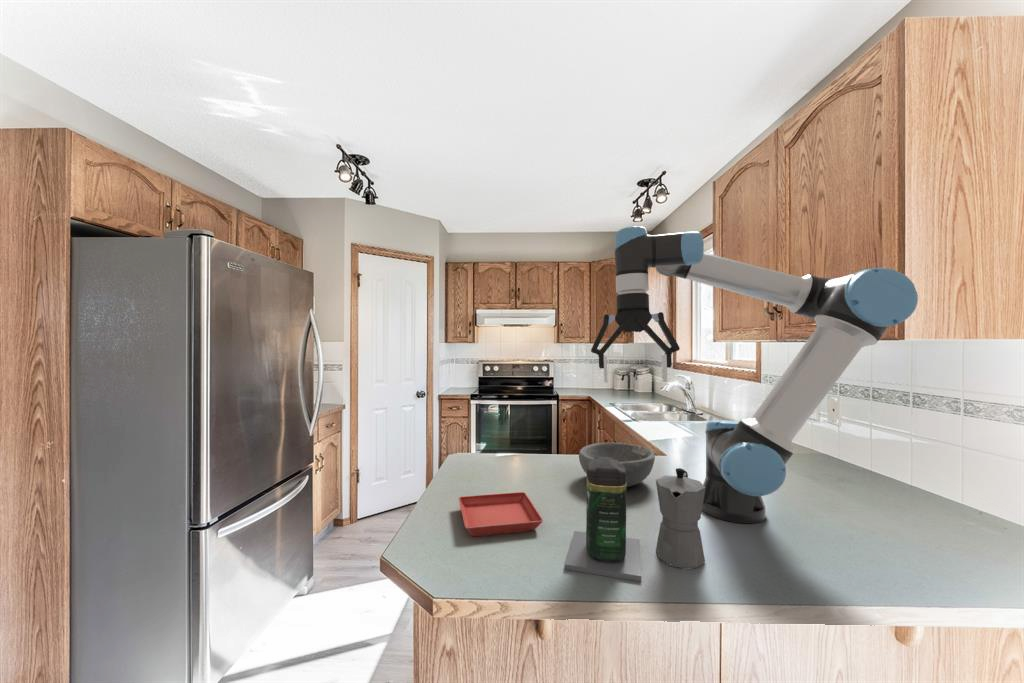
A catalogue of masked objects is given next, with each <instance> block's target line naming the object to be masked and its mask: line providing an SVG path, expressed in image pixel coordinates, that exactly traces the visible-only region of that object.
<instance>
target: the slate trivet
mask: <svg viewBox="0 0 1024 683" xmlns="http://www.w3.org/2000/svg"><path fill="white" fill-rule="evenodd" d="M640 541H641V540H640V539H639V538H632V537H626V555H625V558H624V559H623V560H620V561H615V562H603V561H601V560H598V559H595V558H592V557H591V556H590V555H589V554H588V552H587V548H586V531H577V530H574V531H573V535H572V538H571V542H570V545H569V550H568V552H567V556H566V559H565V562H564V570H566V571H571V572H578V573H585V574H591V575H598V576H603V577H609V578H615V579H623V580H629V581H635V582H636V581H637V582H642V564H641V563H642V562H641V561H642V560H641V546H640V545H641V544H640Z"/></svg>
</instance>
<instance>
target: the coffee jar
mask: <svg viewBox="0 0 1024 683" xmlns="http://www.w3.org/2000/svg"><path fill="white" fill-rule="evenodd" d="M585 509H586V510H585V511H586V525H585V526H586V529H585V530H586V531H585V532H586V548H587V552H588V554H589V555H590V556H591V557H592V558H595V559H598V560H601V561H603V562H615V561H620V560H623V559H624V558H625V555H626V538H627V487H626V470H625V468H624V466H623V465H622V464H621V463H620V462H619V461H617V460H615V458H611V457H595V458H594V459H592V460H591V461H589V462H588V465H587V474H586V508H585Z"/></svg>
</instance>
